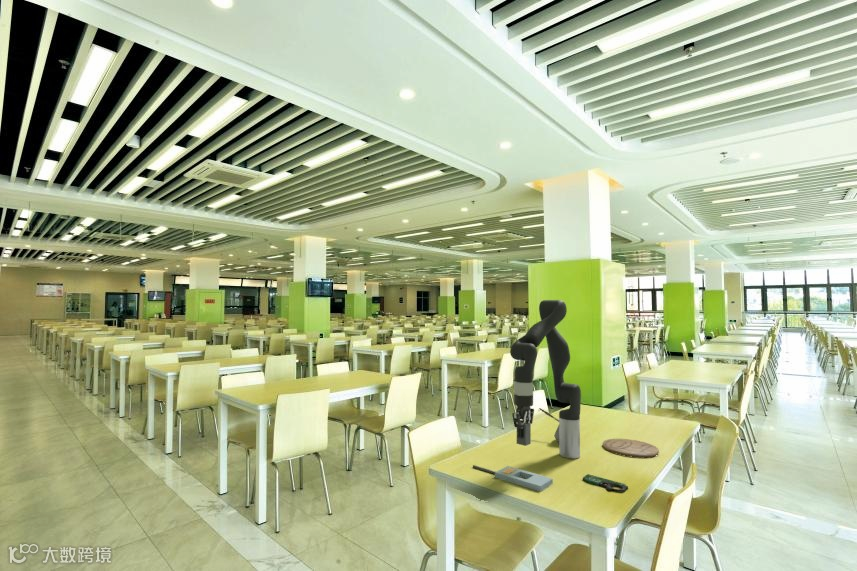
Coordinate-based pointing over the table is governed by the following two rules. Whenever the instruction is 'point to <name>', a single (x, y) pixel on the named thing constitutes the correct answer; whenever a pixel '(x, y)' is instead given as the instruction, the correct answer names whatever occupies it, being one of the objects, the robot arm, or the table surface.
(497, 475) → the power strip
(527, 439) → the block
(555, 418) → the coffee pot
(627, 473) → the table surface
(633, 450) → the trivet
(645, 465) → the table surface
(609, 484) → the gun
